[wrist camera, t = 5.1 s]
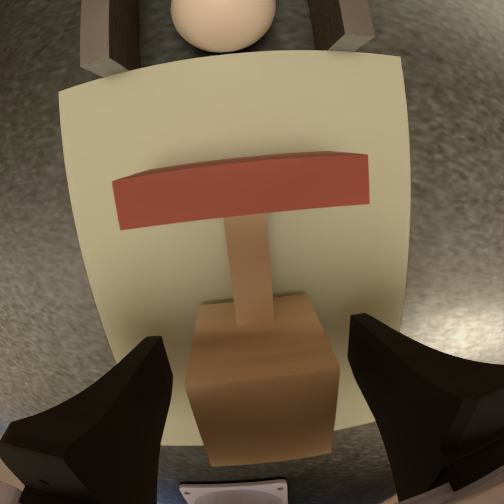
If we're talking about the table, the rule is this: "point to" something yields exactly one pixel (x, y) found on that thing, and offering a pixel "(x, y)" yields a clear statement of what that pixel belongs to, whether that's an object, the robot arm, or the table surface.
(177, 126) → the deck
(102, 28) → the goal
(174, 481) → the table surface
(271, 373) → the t-shaped pusher
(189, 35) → the ball
